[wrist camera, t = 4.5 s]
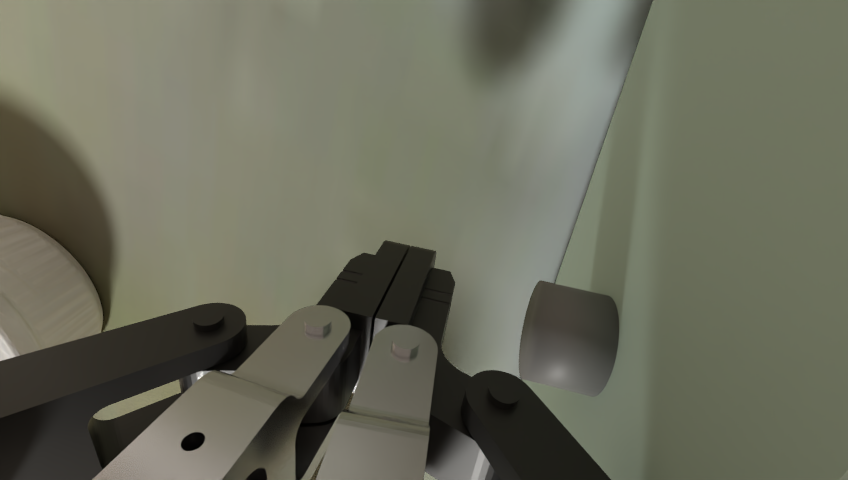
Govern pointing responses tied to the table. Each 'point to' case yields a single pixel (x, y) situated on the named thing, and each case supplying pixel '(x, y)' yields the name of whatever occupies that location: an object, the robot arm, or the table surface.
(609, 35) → the table surface
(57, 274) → the ramekin
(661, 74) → the drawer
